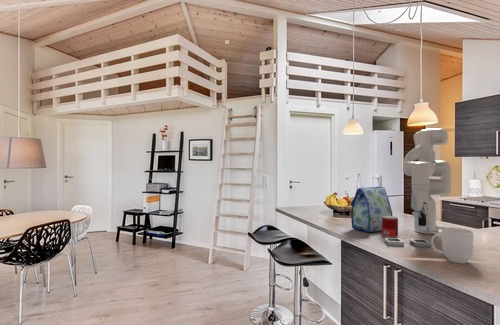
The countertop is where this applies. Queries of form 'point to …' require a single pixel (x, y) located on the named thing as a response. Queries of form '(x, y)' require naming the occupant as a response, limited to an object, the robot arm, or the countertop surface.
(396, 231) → the canned food
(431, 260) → the countertop surface
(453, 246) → the mug
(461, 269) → the countertop surface
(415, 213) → the plug
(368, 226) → the lunch bag
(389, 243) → the panel
